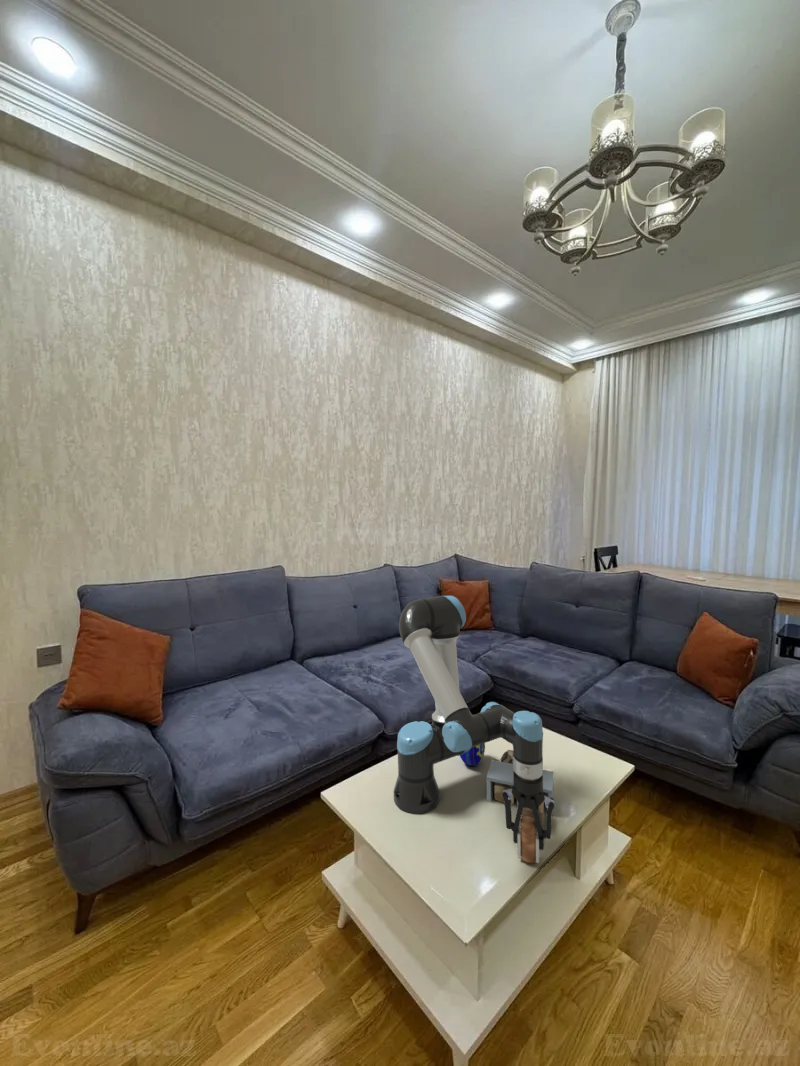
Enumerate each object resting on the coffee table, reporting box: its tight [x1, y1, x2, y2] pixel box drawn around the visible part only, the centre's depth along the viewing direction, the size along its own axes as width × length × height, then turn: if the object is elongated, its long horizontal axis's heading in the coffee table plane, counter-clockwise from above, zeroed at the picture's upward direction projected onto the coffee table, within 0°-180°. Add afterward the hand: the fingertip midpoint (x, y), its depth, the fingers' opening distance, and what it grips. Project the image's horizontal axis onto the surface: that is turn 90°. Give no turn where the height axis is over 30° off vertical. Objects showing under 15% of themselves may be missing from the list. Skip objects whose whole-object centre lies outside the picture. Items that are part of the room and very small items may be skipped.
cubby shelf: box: [486, 759, 555, 816], centre depth 139 cm, size 20×10×8 cm, turn 68°
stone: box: [500, 749, 513, 764], centre depth 152 cm, size 7×12×7 cm, turn 33°
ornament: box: [459, 743, 486, 767], centre depth 159 cm, size 11×9×15 cm
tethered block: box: [520, 801, 545, 864], centre depth 122 cm, size 6×20×10 cm, turn 159°
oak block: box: [494, 782, 516, 805], centre depth 141 cm, size 6×6×5 cm
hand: (528, 856), depth 115 cm, fingers closed on tethered block, 4 cm apart
